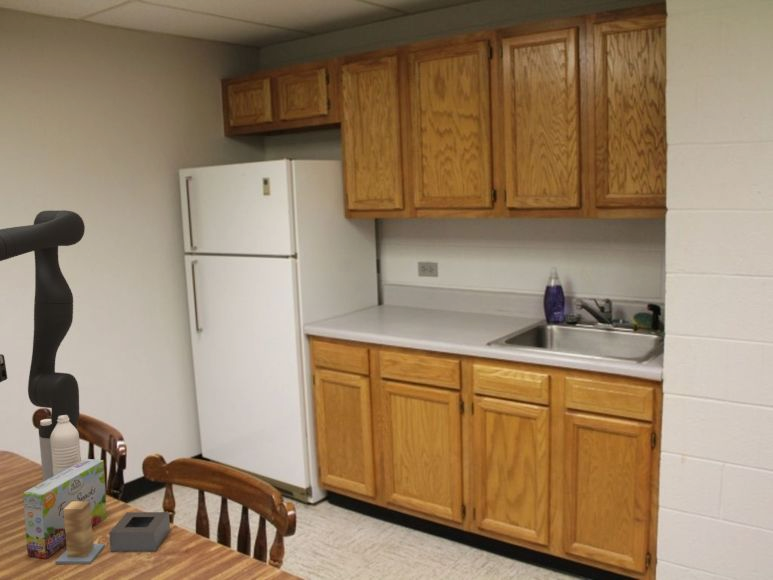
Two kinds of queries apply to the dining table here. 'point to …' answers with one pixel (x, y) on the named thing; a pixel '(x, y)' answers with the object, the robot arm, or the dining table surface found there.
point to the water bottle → (63, 444)
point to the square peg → (78, 529)
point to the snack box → (62, 505)
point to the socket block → (139, 531)
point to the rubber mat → (81, 560)
